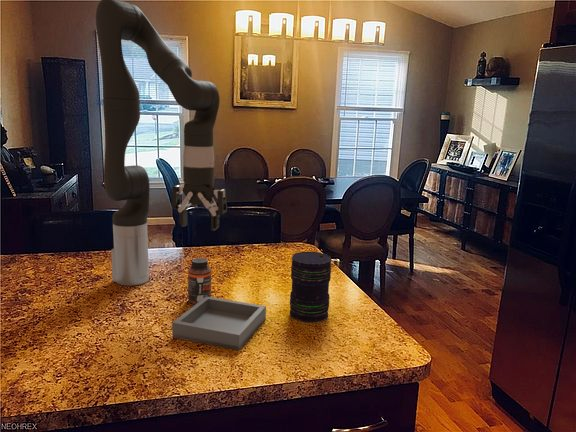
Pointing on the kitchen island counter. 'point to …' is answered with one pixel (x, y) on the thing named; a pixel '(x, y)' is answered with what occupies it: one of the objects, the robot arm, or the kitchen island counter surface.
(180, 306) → the kitchen island counter surface
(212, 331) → the tray
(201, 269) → the supplement bottle
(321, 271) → the dark cylinder
